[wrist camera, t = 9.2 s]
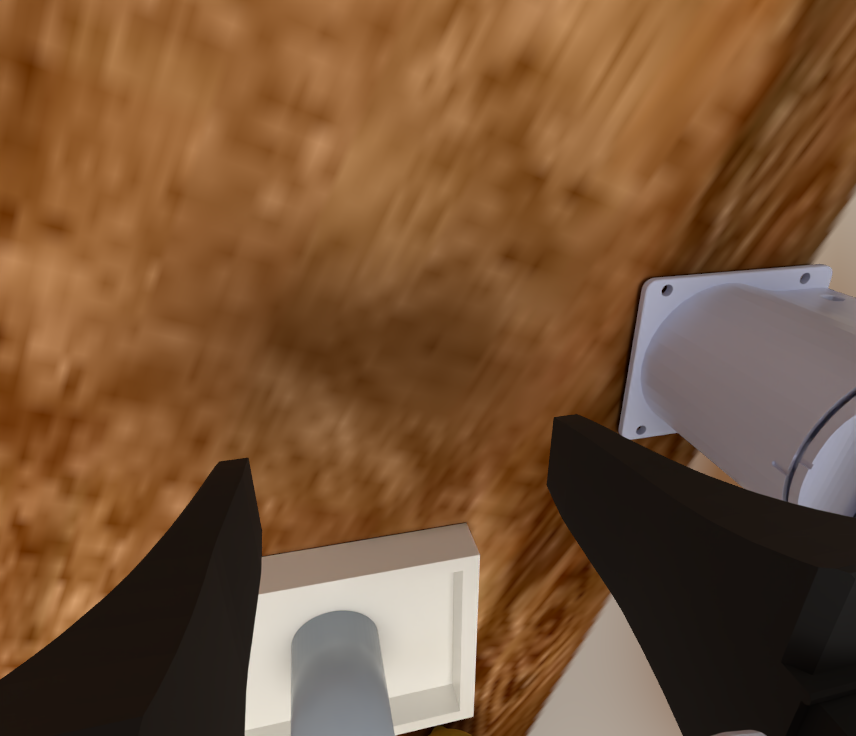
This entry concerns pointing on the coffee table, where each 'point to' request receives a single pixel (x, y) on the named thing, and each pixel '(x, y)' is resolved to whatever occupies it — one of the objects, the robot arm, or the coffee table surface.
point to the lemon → (448, 732)
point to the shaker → (339, 678)
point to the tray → (390, 611)
